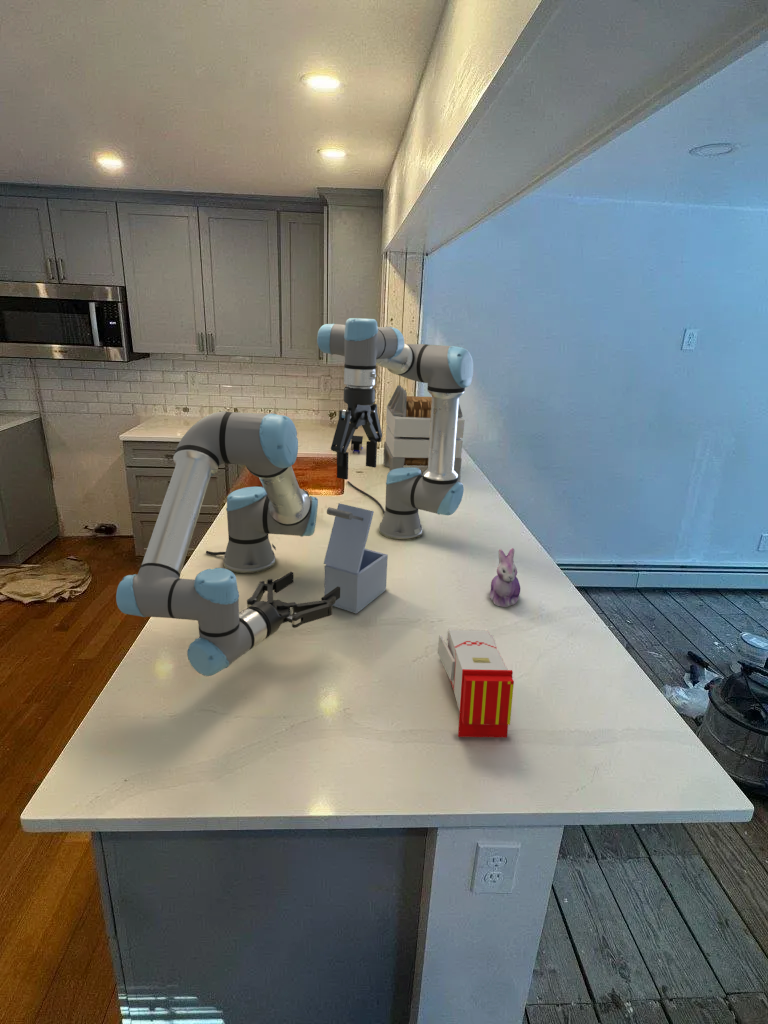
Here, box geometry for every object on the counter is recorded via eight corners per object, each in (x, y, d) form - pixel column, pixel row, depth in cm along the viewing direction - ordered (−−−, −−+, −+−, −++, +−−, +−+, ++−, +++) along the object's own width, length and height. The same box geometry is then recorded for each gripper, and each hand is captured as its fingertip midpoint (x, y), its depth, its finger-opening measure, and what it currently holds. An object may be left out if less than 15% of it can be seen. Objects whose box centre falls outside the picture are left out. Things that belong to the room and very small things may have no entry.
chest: (355, 580, 164) (356, 546, 161) (386, 590, 160) (387, 554, 156) (324, 603, 151) (324, 565, 148) (356, 613, 147) (357, 575, 143)
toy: (488, 613, 130) (523, 677, 101) (484, 667, 133) (517, 744, 104) (435, 612, 130) (455, 676, 101) (432, 666, 133) (451, 743, 103)
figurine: (502, 611, 151) (509, 560, 146) (479, 594, 159) (485, 545, 154) (530, 604, 155) (537, 554, 150) (506, 588, 163) (512, 540, 158)
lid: (340, 503, 148) (323, 498, 141) (374, 511, 144) (358, 506, 136) (325, 563, 148) (307, 562, 140) (358, 573, 143) (341, 572, 136)
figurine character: (362, 457, 305) (363, 447, 318) (362, 443, 301) (363, 434, 315) (350, 456, 304) (351, 447, 318) (350, 443, 301) (351, 434, 314)
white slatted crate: (382, 463, 289) (386, 382, 275) (445, 464, 293) (451, 384, 279) (390, 482, 257) (394, 392, 243) (460, 483, 261) (468, 394, 247)
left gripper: (212, 622, 125) (274, 584, 142) (303, 658, 114) (359, 612, 131) (209, 592, 122) (273, 557, 140) (303, 626, 111) (360, 584, 128)
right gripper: (344, 393, 123) (342, 486, 130) (397, 383, 144) (393, 464, 151) (315, 390, 127) (315, 481, 134) (372, 380, 147) (369, 459, 154)
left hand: (315, 584), depth 135 cm, fingers open, 13 cm apart
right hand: (357, 472), depth 142 cm, fingers open, 13 cm apart
